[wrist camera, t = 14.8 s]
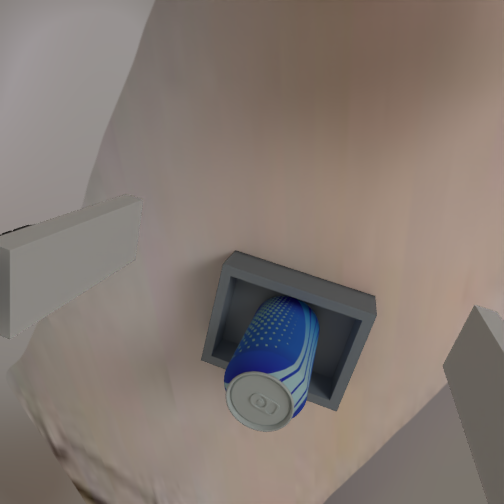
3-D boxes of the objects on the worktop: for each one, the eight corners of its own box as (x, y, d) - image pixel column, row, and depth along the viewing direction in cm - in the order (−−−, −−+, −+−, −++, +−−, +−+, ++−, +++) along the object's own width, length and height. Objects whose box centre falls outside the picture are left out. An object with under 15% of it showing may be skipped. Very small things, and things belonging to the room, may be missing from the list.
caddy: (235, 250, 50) (223, 263, 46) (375, 296, 48) (376, 315, 43) (214, 340, 56) (201, 360, 51) (338, 385, 53) (336, 411, 48)
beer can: (272, 355, 53) (238, 445, 39) (246, 302, 52) (201, 375, 37) (330, 340, 50) (318, 432, 36) (305, 283, 49) (281, 354, 34)
